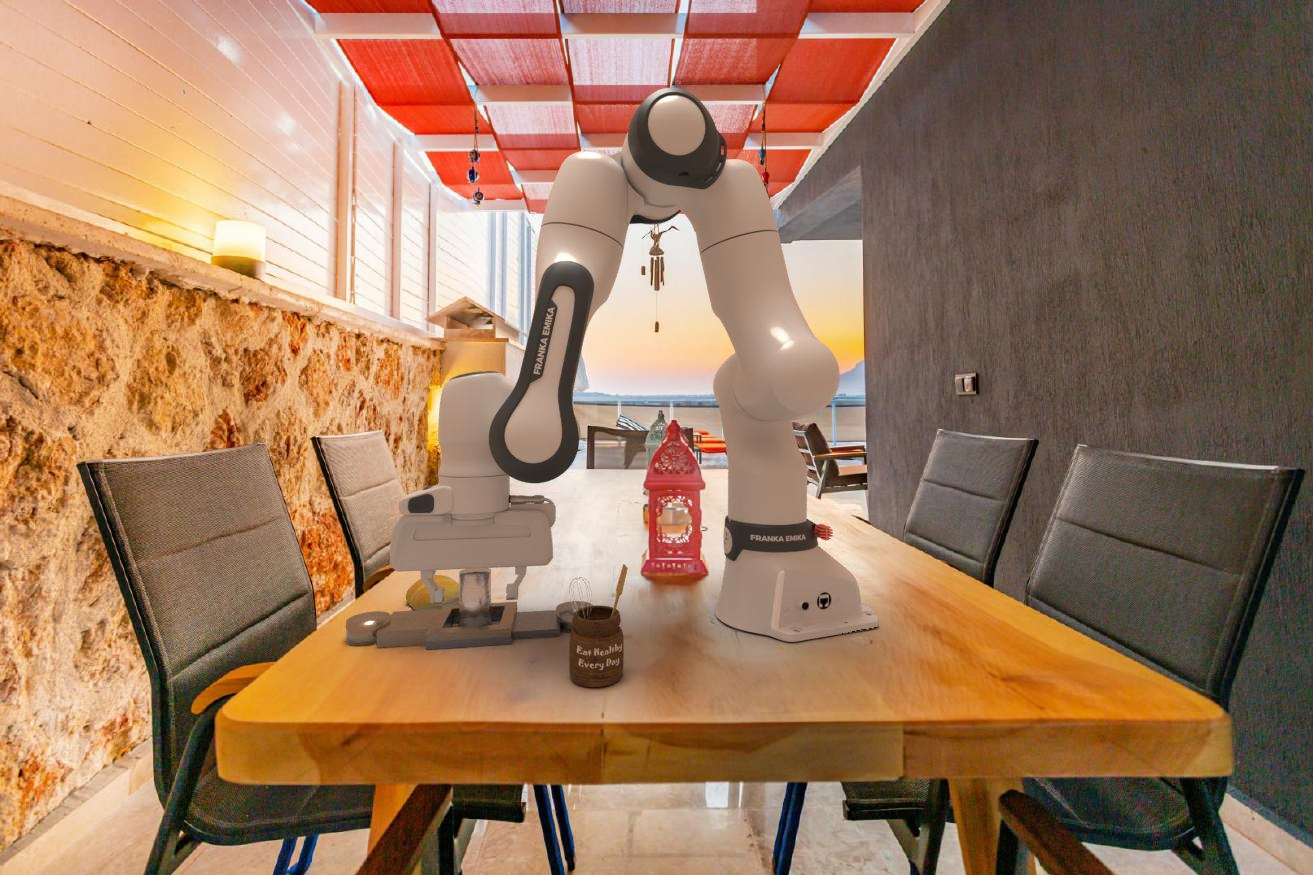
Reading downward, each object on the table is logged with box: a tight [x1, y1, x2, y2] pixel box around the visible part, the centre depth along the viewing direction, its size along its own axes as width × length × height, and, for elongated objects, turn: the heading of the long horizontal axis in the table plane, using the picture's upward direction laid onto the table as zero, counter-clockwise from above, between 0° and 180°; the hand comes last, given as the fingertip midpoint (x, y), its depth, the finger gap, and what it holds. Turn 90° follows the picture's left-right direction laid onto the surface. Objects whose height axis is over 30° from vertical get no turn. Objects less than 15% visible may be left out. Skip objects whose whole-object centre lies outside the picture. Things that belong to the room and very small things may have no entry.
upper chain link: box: [345, 601, 518, 649], centre depth 70 cm, size 20×10×2 cm, turn 100°
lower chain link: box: [425, 600, 594, 651], centre depth 72 cm, size 20×10×2 cm, turn 100°
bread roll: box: [405, 574, 459, 611], centre depth 83 cm, size 8×9×4 cm
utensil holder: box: [568, 563, 628, 688], centre depth 59 cm, size 6×6×12 cm
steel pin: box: [458, 568, 492, 627], centre depth 71 cm, size 4×4×8 cm
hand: (475, 600), depth 71 cm, fingers open, 8 cm apart
